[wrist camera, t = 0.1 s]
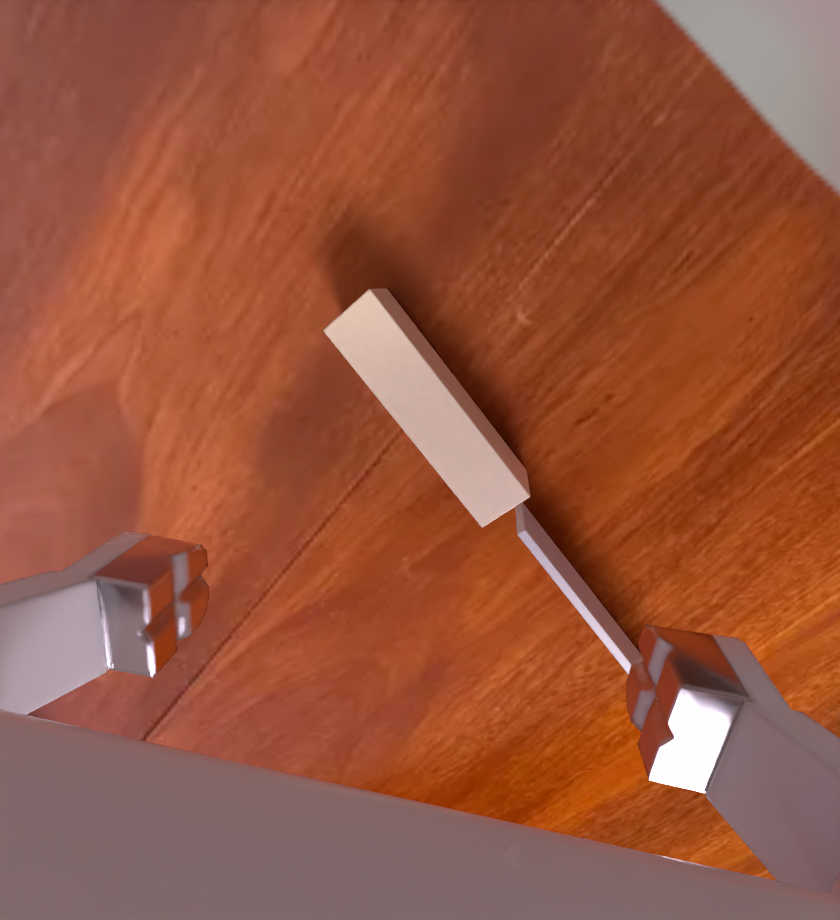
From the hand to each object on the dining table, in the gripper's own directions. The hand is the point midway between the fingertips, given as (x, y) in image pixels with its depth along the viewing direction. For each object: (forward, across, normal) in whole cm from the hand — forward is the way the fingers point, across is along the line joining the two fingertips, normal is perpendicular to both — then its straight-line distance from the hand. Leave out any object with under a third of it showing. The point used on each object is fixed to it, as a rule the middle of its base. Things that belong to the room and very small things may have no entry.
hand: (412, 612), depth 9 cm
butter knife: (+14, -3, +3) cm, 15 cm away
